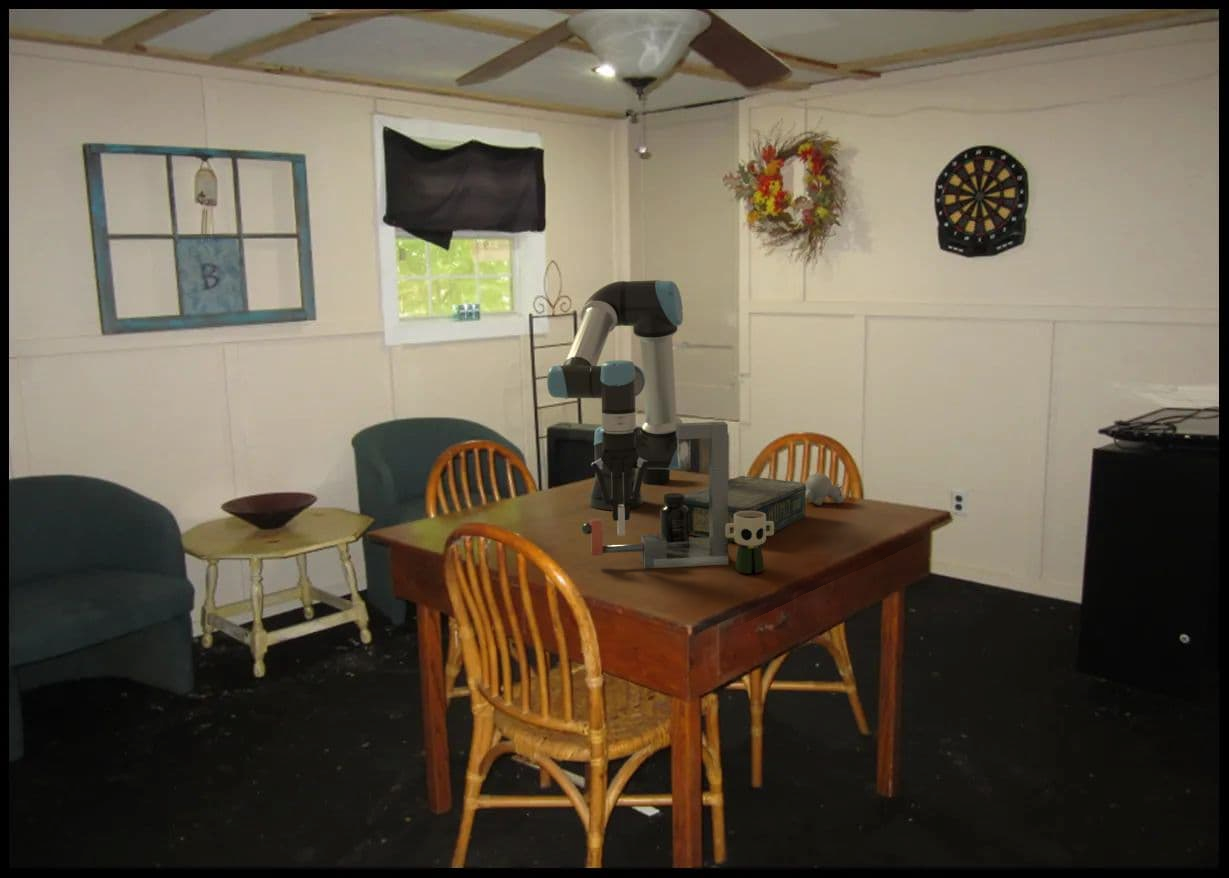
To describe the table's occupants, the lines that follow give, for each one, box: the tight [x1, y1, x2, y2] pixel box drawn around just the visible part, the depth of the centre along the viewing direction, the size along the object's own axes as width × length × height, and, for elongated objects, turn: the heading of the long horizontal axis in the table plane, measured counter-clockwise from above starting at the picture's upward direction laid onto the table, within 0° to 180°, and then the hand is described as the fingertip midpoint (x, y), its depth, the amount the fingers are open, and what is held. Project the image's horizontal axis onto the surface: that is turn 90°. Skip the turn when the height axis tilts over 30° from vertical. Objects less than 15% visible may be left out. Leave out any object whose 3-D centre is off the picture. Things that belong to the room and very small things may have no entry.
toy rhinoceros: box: [805, 472, 847, 506], centre depth 279 cm, size 7×12×8 cm, turn 90°
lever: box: [581, 517, 690, 557], centre depth 225 cm, size 3×24×8 cm, turn 95°
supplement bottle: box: [659, 492, 690, 542], centre depth 234 cm, size 7×7×12 cm
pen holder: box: [642, 469, 671, 485], centre depth 311 cm, size 9×9×10 cm
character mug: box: [725, 511, 775, 574], centre depth 218 cm, size 11×7×13 cm, turn 98°
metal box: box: [683, 475, 807, 544], centre depth 257 cm, size 21×32×10 cm, turn 143°
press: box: [640, 421, 729, 569], centre depth 229 cm, size 16×19×32 cm
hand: (621, 533), depth 225 cm, fingers closed
